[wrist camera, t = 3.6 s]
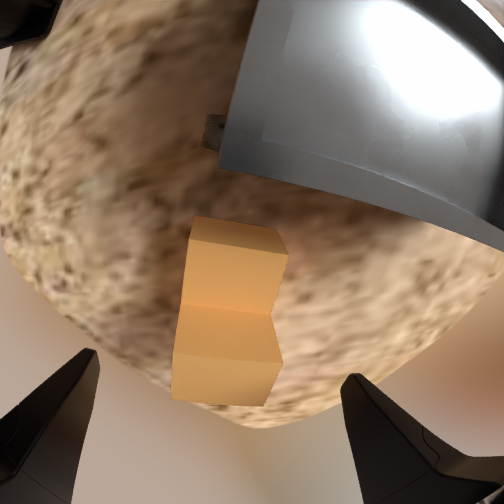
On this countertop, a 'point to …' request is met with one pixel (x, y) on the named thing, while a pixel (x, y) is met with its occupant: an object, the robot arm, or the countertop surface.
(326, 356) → the countertop surface
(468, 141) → the tray
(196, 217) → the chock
